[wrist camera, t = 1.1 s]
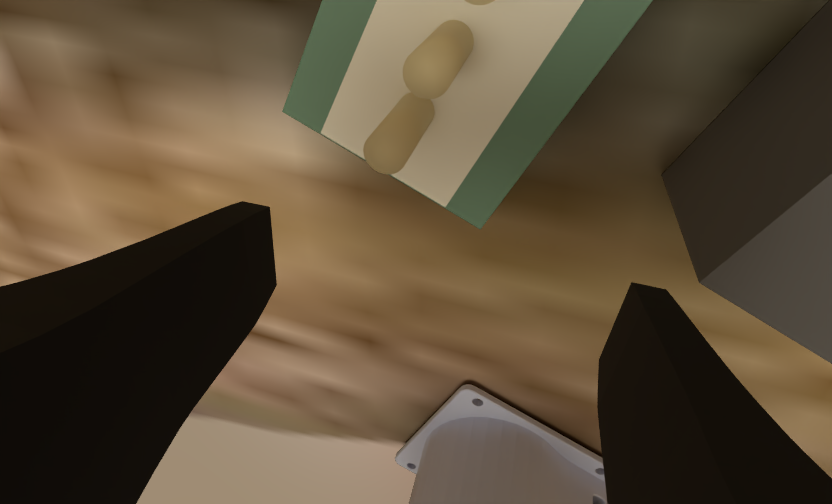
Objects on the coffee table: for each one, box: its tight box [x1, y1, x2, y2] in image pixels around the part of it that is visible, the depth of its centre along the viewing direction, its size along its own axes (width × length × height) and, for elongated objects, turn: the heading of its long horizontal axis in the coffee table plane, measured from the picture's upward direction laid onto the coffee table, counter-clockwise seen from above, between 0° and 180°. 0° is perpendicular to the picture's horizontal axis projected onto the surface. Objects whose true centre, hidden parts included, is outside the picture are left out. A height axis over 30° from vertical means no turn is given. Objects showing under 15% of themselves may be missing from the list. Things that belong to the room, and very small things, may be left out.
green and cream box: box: [282, 0, 653, 229], centre depth 14 cm, size 8×10×5 cm
